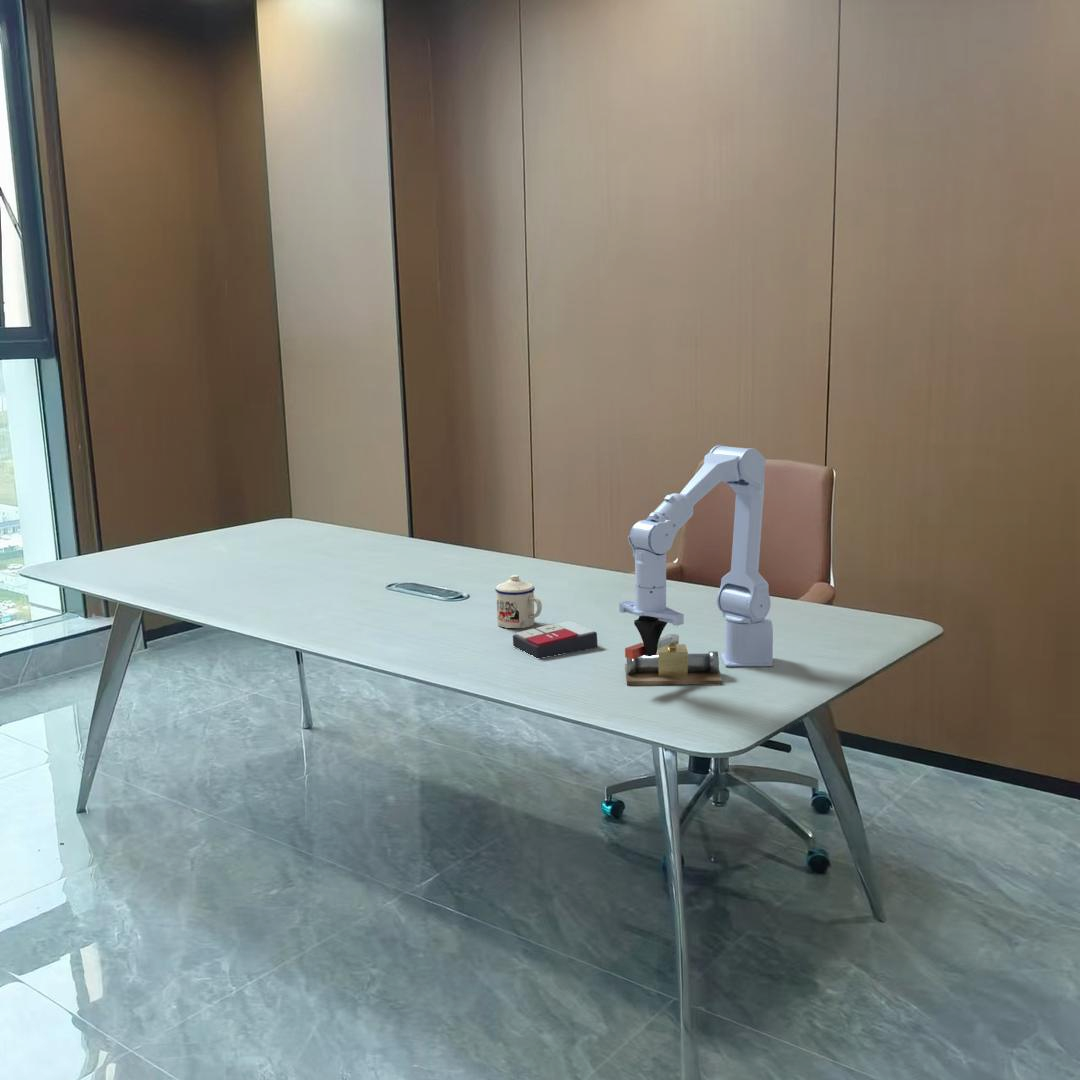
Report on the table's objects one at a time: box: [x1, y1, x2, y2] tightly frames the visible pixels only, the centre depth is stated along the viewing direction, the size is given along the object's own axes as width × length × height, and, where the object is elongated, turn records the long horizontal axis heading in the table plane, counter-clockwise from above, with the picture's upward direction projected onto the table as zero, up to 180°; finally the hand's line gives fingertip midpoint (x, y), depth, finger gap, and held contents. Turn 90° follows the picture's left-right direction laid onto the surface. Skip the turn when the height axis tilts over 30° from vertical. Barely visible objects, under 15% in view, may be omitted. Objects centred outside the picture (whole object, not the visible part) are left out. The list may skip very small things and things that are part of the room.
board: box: [624, 663, 723, 686], centre depth 209 cm, size 18×11×1 cm, turn 88°
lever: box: [624, 633, 680, 659], centre depth 204 cm, size 3×14×2 cm, turn 135°
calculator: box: [512, 620, 598, 659], centre depth 230 cm, size 11×4×15 cm
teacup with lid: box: [495, 574, 543, 629], centre depth 247 cm, size 12×9×12 cm
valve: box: [626, 643, 720, 676], centre depth 209 cm, size 18×5×6 cm, turn 87°
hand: (650, 655), depth 201 cm, fingers closed
